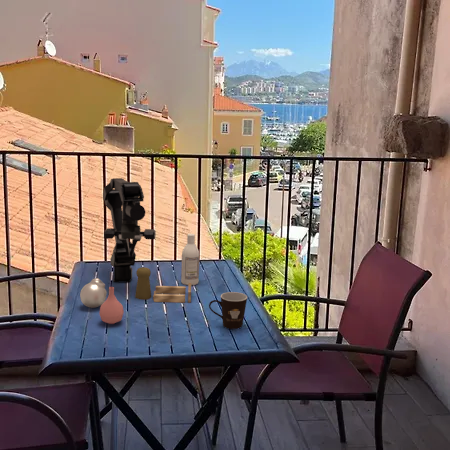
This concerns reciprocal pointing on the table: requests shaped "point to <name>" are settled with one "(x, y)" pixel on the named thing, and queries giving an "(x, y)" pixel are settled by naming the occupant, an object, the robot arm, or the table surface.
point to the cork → (143, 284)
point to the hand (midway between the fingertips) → (130, 256)
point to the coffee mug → (232, 309)
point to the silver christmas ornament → (93, 293)
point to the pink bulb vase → (111, 309)
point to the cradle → (171, 294)
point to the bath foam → (190, 262)
